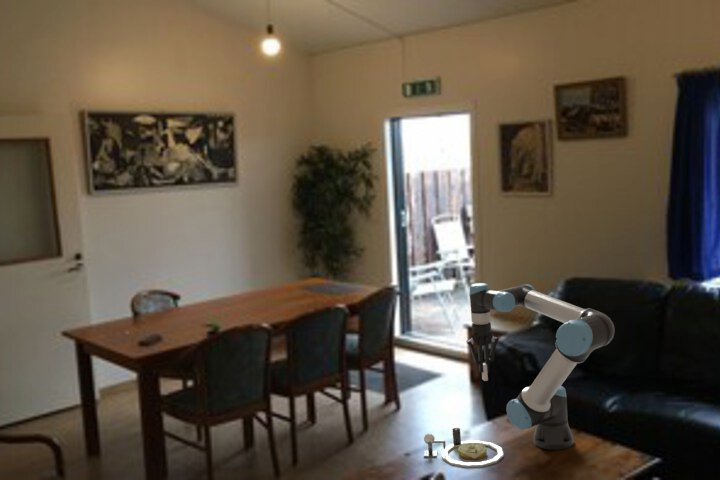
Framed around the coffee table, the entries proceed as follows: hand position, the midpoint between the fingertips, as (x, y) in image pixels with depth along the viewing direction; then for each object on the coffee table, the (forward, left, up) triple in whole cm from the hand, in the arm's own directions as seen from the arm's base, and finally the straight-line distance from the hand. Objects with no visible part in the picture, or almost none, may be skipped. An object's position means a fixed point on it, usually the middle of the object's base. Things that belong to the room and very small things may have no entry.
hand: (485, 379), depth 295 cm
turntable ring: (+6, +17, -24) cm, 30 cm away
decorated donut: (+6, +17, -25) cm, 31 cm away
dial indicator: (+20, +17, -24) cm, 36 cm away
